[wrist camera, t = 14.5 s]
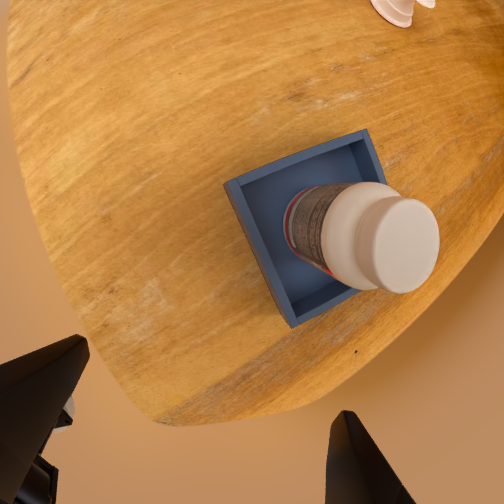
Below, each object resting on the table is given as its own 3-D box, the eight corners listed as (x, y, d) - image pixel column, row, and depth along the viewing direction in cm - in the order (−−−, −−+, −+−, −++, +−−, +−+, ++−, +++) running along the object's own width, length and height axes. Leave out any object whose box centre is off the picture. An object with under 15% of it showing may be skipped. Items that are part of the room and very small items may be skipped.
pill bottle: (284, 267, 20) (356, 323, 10) (277, 188, 19) (352, 180, 9) (352, 256, 21) (446, 294, 11) (347, 183, 20) (448, 179, 10)
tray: (280, 314, 21) (291, 329, 18) (222, 184, 19) (226, 181, 16) (388, 255, 22) (408, 261, 19) (348, 135, 20) (366, 128, 17)
